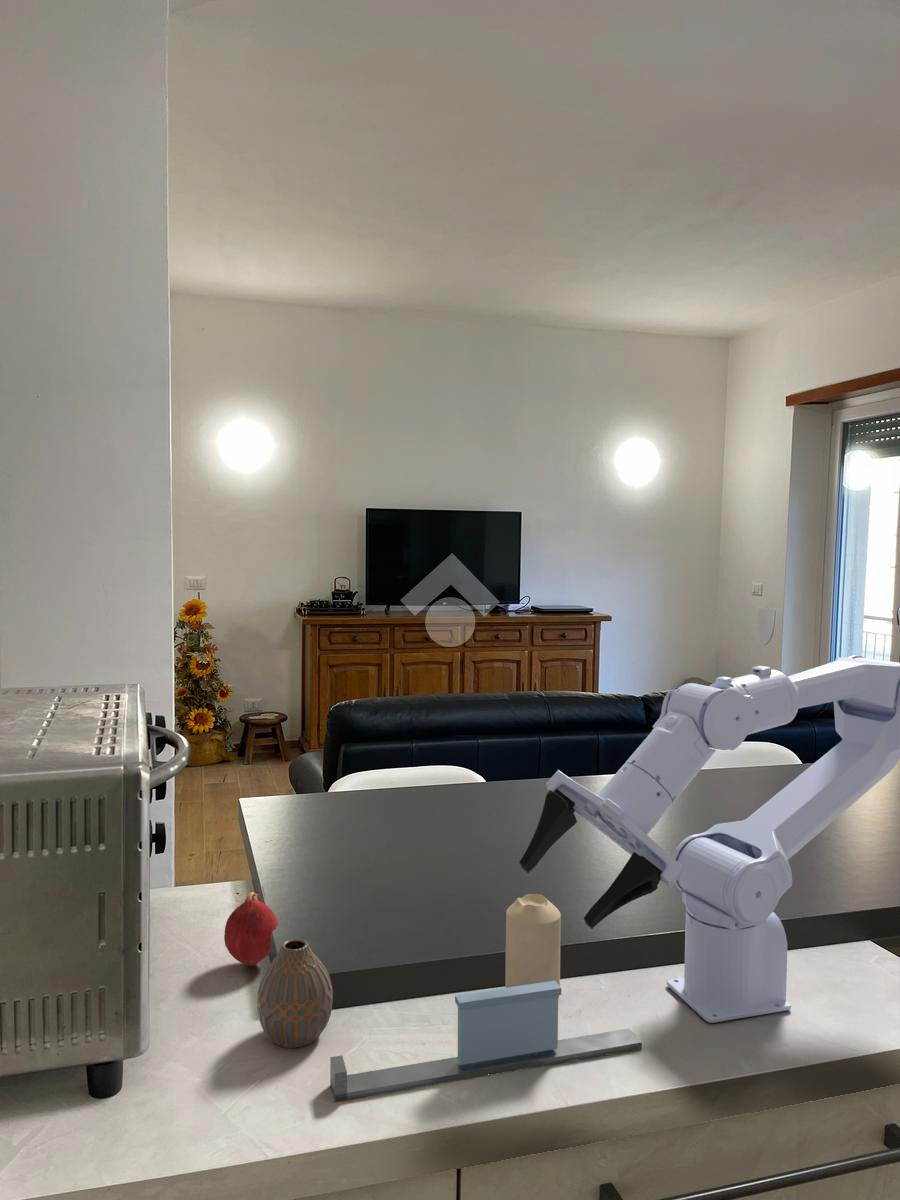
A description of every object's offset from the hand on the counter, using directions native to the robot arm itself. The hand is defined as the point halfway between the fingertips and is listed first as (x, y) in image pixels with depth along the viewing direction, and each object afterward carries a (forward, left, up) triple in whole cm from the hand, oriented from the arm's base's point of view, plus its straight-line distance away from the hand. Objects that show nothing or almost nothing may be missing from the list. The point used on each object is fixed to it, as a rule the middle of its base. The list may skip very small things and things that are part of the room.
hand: (554, 895), depth 79 cm
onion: (+26, -23, -14) cm, 37 cm away
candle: (-1, -9, -14) cm, 17 cm away
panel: (+5, +2, -14) cm, 15 cm away
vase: (+23, -8, -14) cm, 28 cm away
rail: (+7, +2, -14) cm, 15 cm away
